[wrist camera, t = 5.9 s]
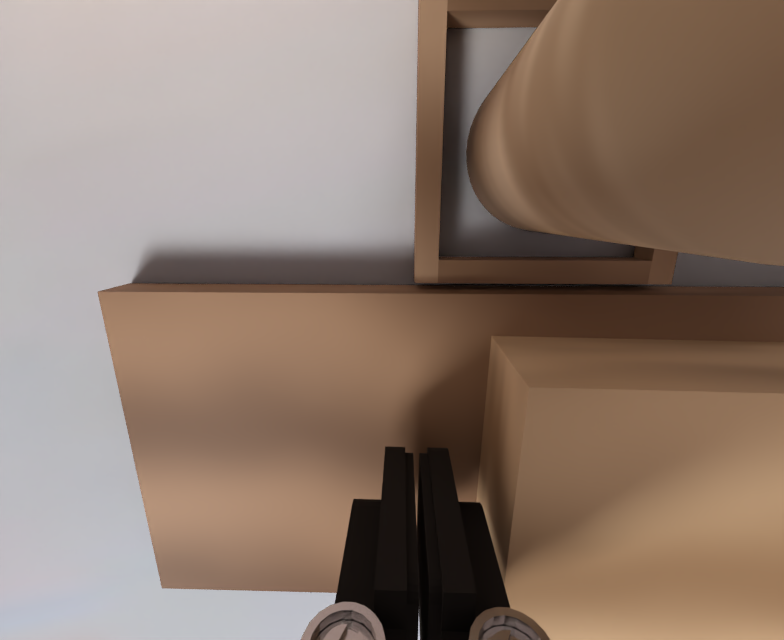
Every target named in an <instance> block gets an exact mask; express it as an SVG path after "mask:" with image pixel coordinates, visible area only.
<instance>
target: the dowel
mask: <svg viewBox="0 0 784 640" xmlns="http://www.w3.org/2000/svg"><path fill="white" fill-rule="evenodd" d="M466 162H467V170H468V175H469V179H470V182H471V185H472V187H473V190H474V192H475V194H476V196H477V197H478V199H479V201H480V202H481V203H482V205H483V206H484V207H485V208H486V209H487V210H488V211H489V212H490V213H491V214H492V215H493V216H494V217H496V218H497V219H498V220H500V221H502V222H503V223H505V224H507V225H510V226H512V227H515V228H518V229H523V230H528V231H535V232H542V233H549V234H556V235H563V236H570V237H577V238H584V239H591V240H598V241H605V242H612V243H619V244H626V245H633V246H640V247H647V248H654V249H661V250H668V251H675V252H682V253H689V254H696V255H703V256H710V257H717V258H724V259H731V260H738V261H745V262H752V263H759V264H766V265H779V266H784V0H557V1H556V3H555V4H554V6H553V7H552V8H551V10H550V11H549V12H548V14H547V15H546V16H545V18H544V19H543V21H542V22H541V23H540V25H539V26H538V27H537V29H536V30H535V32H534V33H533V34H532V36H531V37H530V38H529V40H528V41H527V42H526V44H525V45H524V47H523V48H522V49H521V51H520V52H519V53H518V55H517V56H516V57H515V59H514V60H513V62H512V63H511V64H510V66H509V67H508V68H507V70H506V71H505V73H504V74H503V75H502V77H501V78H500V79H499V81H498V82H497V83H496V85H495V86H494V88H493V89H492V90H491V92H490V93H489V94H488V96H487V97H486V99H485V100H484V102H483V103H482V105H481V106H480V108H479V110H478V112H477V114H476V116H475V118H474V120H473V123H472V126H471V128H470V132H469V136H468V141H467V150H466Z"/></svg>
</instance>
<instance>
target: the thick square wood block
mask: <svg viewBox="0 0 784 640" xmlns="http://www.w3.org/2000/svg"><path fill="white" fill-rule="evenodd" d="M476 502H480V503H481V504H482V507H483V510H484V513H485V517H486V521H487V524H488V528H489V532H490V535H491V539H492V542H493V546H494V550H495V553H496V557H497V561H498V564H499V568H500V572H501V575H502V579H503V582H504V586H505V590H506V593H507V597H508V601H509V604H510V608H511V609H514V610H517V611H520V612H522V613H524V614H525V615H527V616H528V617H530V618H532V619H533V620H534V621H535V622H536V623H537V624H538V625H539V626H540V627H541V628H542V629H543V630H544V631H545V632H546V634H547V635H548V637H549V639H550V640H784V342H745V341H700V340H655V339H609V338H564V337H519V336H491V347H490V358H489V369H488V380H487V391H486V402H485V413H484V423H483V434H482V445H481V456H480V467H479V478H478V489H477V500H476Z"/></svg>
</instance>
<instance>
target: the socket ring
mask: <svg viewBox="0 0 784 640" xmlns="http://www.w3.org/2000/svg"><path fill="white" fill-rule="evenodd" d="M556 1H557V0H419V5H418V64H417V123H416V182H415V241H414V281H415V283H491V284H672V279H673V274H674V269H675V264H676V260H677V255H678V252H675V251H668V250H661V249H654V248H647V247H640V246H635V251H634V257H439V233H440V204H441V175H442V146H443V118H444V89H445V60H446V31H447V28H505V27H538V26H539V25H540V23H541V22H542V21H543V19H544V18H545V16H546V15H547V14H548V12H549V11H550V10H551V8H552V7H553V6H554V4H555V3H556Z"/></svg>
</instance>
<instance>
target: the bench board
mask: <svg viewBox="0 0 784 640" xmlns="http://www.w3.org/2000/svg"><path fill="white" fill-rule="evenodd" d="M98 296H99V301H100V305H101V310H102V314H103V319H104V324H105V328H106V333H107V337H108V342H109V347H110V351H111V356H112V360H113V365H114V370H115V374H116V379H117V383H118V388H119V393H120V397H121V402H122V406H123V411H124V416H125V420H126V425H127V429H128V434H129V439H130V443H131V448H132V452H133V457H134V461H135V466H136V471H137V475H138V480H139V484H140V489H141V494H142V498H143V503H144V507H145V512H146V517H147V521H148V526H149V530H150V535H151V540H152V544H153V549H154V553H155V558H156V563H157V567H158V572H159V576H160V581H161V586H162V588H175V589H213V590H252V591H290V592H329V593H337V588H338V583H339V577H340V571H341V565H342V560H343V554H344V548H345V542H346V537H347V531H348V525H349V519H350V514H351V508H352V503H353V500H354V499H380V500H381V495H382V482H383V469H384V455H385V446H390V447H405V453H413V459H414V481H415V503H416V525H417V504H418V475H419V453H427V447H430V448H448V450H449V455H450V460H451V465H452V470H453V475H454V480H455V486H456V491H457V496H458V501H459V502H476V500H477V489H478V478H479V467H480V456H481V445H482V434H483V423H484V413H485V402H486V391H487V380H488V369H489V358H490V347H491V336H519V337H564V338H609V339H655V340H700V341H745V342H784V287H682V286H505V285H328V284H151V283H129V284H126V285H122V286H118V287H114V288H110V289H106V290H102V291H99V292H98Z"/></svg>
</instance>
